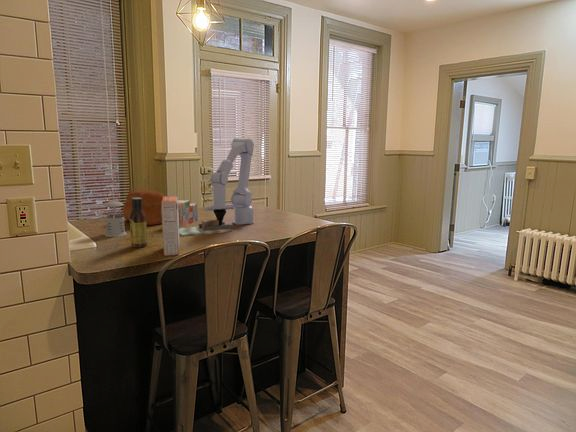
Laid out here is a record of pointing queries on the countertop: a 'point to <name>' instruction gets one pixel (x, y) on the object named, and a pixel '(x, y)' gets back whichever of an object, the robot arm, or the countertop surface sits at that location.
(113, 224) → the french press
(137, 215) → the sauce bottle
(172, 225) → the cracker box
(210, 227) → the channel rails
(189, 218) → the stack of blocks
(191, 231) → the chute board
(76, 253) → the countertop surface
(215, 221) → the walnut block
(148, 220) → the bread
